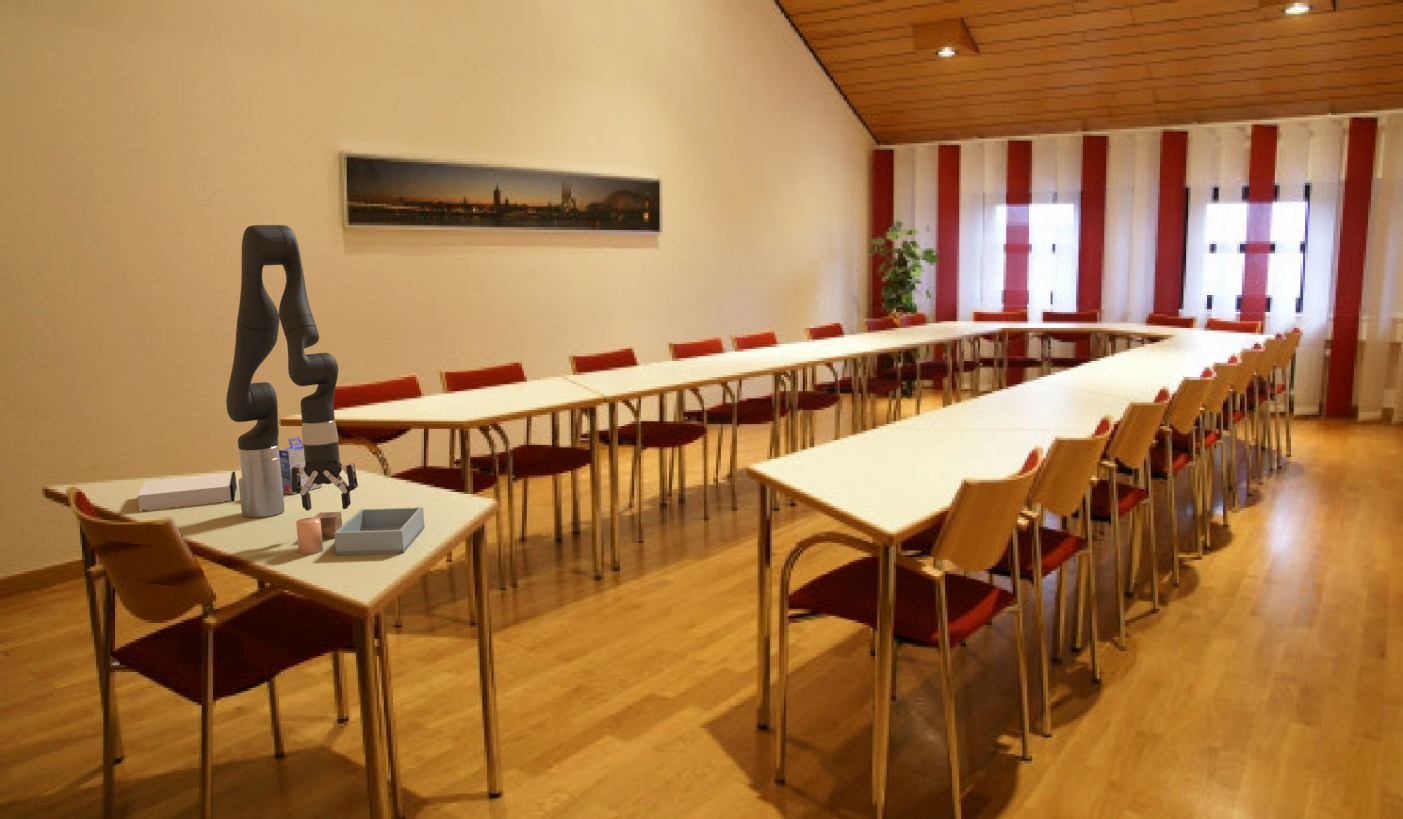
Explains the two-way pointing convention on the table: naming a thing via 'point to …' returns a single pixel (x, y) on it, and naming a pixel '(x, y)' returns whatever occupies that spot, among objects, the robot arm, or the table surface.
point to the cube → (329, 523)
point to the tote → (379, 531)
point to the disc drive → (187, 491)
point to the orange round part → (309, 536)
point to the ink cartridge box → (292, 465)
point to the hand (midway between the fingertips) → (327, 509)
